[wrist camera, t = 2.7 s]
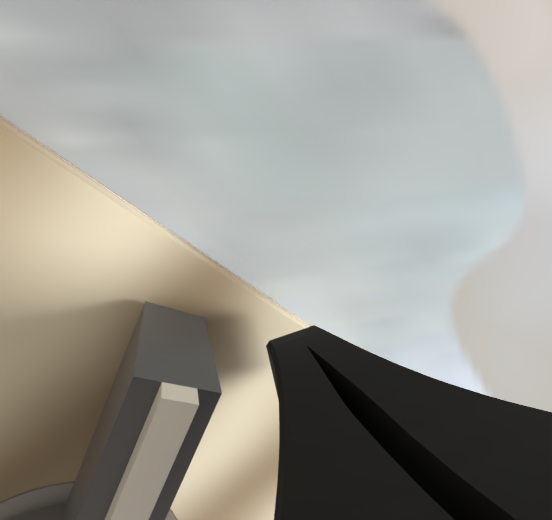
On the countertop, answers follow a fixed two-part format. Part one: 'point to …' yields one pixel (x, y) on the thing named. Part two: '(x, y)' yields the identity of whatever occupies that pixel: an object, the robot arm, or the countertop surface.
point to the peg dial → (146, 423)
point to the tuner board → (118, 338)
